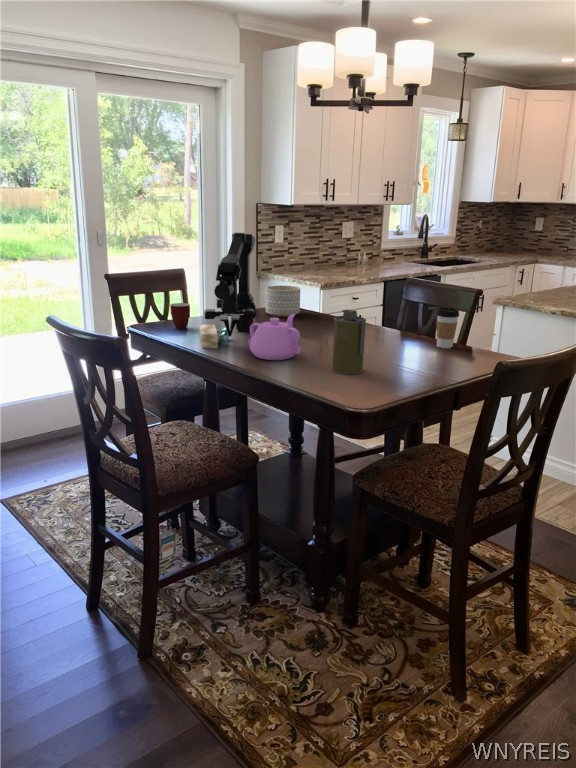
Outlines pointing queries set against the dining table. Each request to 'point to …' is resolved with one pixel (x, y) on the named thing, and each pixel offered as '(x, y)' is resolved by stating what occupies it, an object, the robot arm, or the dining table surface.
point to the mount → (208, 336)
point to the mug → (180, 314)
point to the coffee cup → (446, 326)
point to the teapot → (274, 339)
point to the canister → (348, 343)
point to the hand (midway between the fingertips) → (229, 336)
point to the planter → (282, 300)
